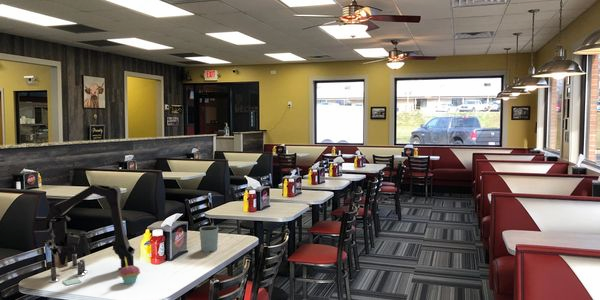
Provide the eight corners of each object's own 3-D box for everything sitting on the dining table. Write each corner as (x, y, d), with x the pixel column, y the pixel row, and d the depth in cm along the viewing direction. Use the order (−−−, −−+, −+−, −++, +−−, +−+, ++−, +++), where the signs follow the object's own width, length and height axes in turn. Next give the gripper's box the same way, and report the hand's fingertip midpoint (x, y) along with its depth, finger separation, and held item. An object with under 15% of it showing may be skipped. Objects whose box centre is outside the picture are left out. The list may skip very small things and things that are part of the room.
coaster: (81, 282, 205) (81, 281, 205) (66, 285, 201) (66, 284, 201) (77, 278, 209) (77, 277, 209) (62, 282, 205) (62, 281, 205)
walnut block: (58, 268, 214) (57, 255, 213) (55, 266, 216) (54, 254, 216) (67, 266, 217) (66, 253, 216) (64, 264, 219) (63, 252, 219)
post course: (90, 274, 215) (90, 261, 214) (50, 283, 204) (49, 270, 203) (78, 265, 229) (77, 253, 229) (39, 273, 218) (38, 260, 217)
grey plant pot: (210, 246, 259) (209, 224, 258) (223, 249, 253) (222, 227, 252) (196, 250, 250) (195, 228, 250) (209, 253, 245) (208, 231, 244)
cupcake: (128, 287, 198) (126, 259, 197) (115, 283, 202) (114, 256, 201) (144, 280, 205) (143, 254, 204) (131, 277, 210) (130, 251, 209)
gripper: (85, 230, 215) (87, 263, 216) (69, 224, 228) (71, 256, 229) (60, 235, 207) (62, 269, 208) (44, 229, 219) (46, 261, 220)
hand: (61, 264), depth 216 cm, fingers closed on walnut block, 4 cm apart
